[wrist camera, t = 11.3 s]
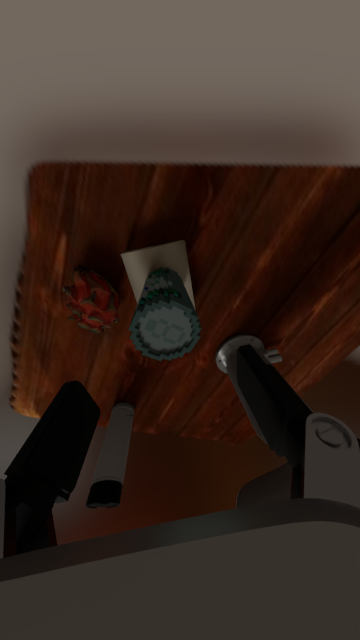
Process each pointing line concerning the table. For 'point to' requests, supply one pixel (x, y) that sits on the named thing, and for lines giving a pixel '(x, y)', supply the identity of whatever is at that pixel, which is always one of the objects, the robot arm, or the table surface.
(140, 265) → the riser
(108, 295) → the dragon fruit
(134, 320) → the can
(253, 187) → the table surface
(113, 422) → the travel mug
